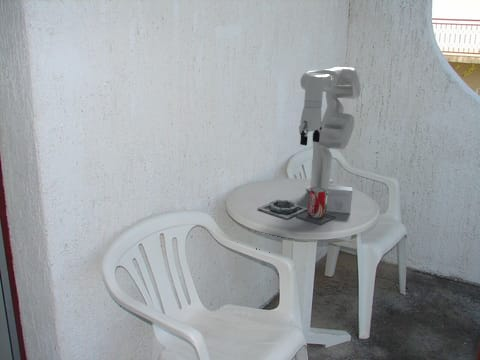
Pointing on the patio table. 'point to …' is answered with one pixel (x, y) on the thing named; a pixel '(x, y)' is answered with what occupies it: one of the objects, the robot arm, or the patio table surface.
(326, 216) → the mat
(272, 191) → the patio table surface
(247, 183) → the patio table surface
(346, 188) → the skincare box
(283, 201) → the collar
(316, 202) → the soda can
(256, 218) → the patio table surface
